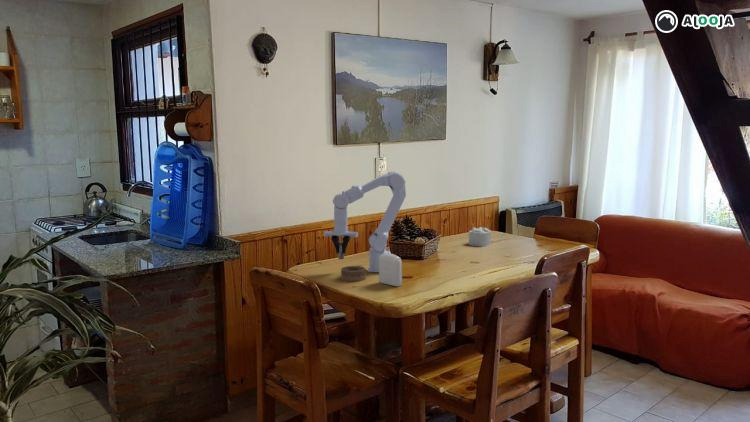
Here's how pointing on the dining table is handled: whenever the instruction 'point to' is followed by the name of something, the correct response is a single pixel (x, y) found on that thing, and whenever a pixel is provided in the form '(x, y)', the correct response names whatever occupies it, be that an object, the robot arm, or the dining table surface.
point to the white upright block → (390, 269)
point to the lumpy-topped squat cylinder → (479, 237)
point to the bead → (353, 273)
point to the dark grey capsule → (340, 250)
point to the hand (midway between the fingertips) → (341, 253)
